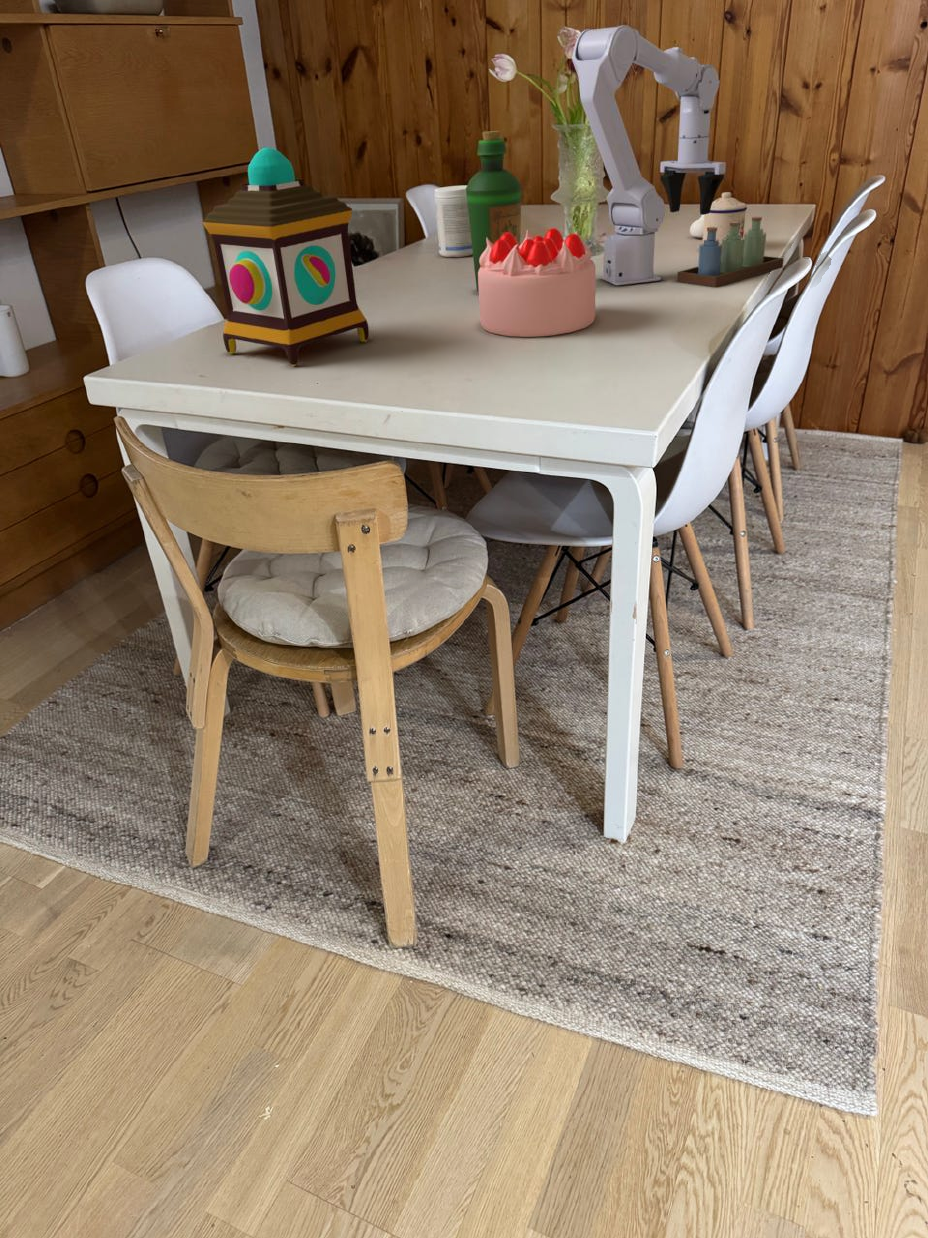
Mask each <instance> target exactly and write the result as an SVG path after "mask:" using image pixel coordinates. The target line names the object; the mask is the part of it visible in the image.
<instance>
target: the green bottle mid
mask: <svg viewBox="0 0 928 1238" xmlns="http://www.w3.org/2000/svg"><path fill="white" fill-rule="evenodd" d="M739 226H740V222H730V234H727V235H726V238H724V239H722V256H721V269H720V272H721V273H729V272H733V271H736V270H740V269H742V263H743V252H744V241H745V238H744V237H743V238H742V237H741V234H738V231H739Z"/></svg>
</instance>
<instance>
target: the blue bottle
mask: <svg viewBox="0 0 928 1238" xmlns="http://www.w3.org/2000/svg"><path fill="white" fill-rule="evenodd" d="M707 231H708V233H707V239H706V240H704V243H703V242H702V243H701V244H699V250H698V262H697V263H698V266H697V267H698V274H702V275H710V276H719V275H720V269H721V256H722V244H721V243H719V240H718V239H716V231H717V227H708V228H707Z"/></svg>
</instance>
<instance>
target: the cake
mask: <svg viewBox="0 0 928 1238" xmlns="http://www.w3.org/2000/svg"><path fill="white" fill-rule="evenodd" d="M486 242H487V248H486V249H485V251H484V252H483V253H482V255H481V256H480V259H479V262H480V265H481V267H480V269H479V271H478V286H479V292H478V302H479V303H478V304H479V319H480V326H481V328H482V329H484V330H485V331H487V332H489V333H491V334H495V335H500V336H506V337H524V338H526V337H527V338H531V337H533V338H534V337H548V336H556V335H557V336H558V335H563V334H567V333H568V334H569V333H572V332H576V331H579V330H583V329H585V328H587V327H589V326H590V325H592V324H593V322H594V321H595V318H596V277H597V275H596V274H597V272H596V269H597V268H596V264H595V262H594V260H592V252H591V249H590V247H588V246H587V244H586V243H585V242H584V240H583V238H581V236H580V234H579V233H578V230H576V231H575V232H574V233H570V234H568V235H567V236H566V238H565V239H564V237H563V235H562V233H561V231H560V230H559V229H557V228H555V227H551V228H549V229H548V230H547V231H546V232H545V234H544V236H542V235H535V236H534V237H533V236H532V234H531V232H530V230H529V229H526V234H525V238H524V240H523V241H522V242H521V243H520V246H519V245H518V243H517V241H516V239H515V237H514V236H513V234H512V233H510V232H505V233H503V234H502V235H501V237H500V239H498V240H497V241H496V242H495V243H494V245H493V244H492V243H491V242H490V241H489V240H488V238H487V239H486Z"/></svg>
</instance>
